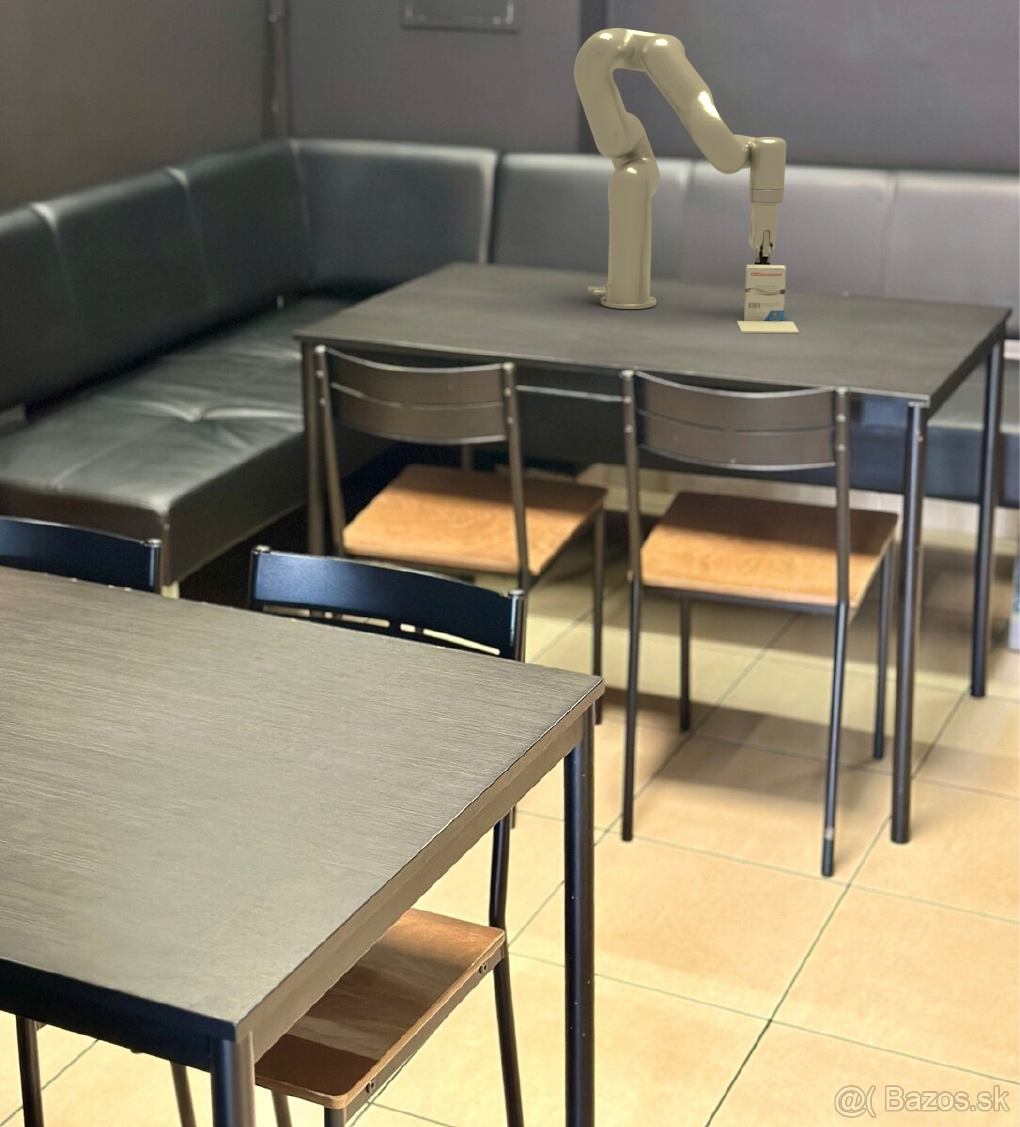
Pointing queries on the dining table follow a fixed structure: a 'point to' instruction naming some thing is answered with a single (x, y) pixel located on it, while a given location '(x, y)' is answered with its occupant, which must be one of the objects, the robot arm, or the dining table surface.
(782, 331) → the mat
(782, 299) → the ink box
